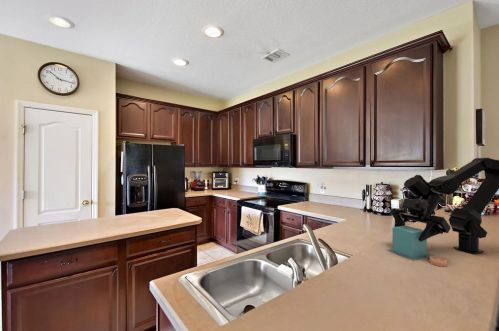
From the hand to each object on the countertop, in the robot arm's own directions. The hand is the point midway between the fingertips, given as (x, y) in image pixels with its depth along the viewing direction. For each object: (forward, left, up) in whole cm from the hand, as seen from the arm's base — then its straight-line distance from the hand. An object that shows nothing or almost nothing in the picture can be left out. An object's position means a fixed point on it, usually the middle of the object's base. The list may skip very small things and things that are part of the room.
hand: (406, 236), depth 83 cm
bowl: (-1, +9, -7) cm, 12 cm away
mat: (-2, 0, -7) cm, 7 cm away
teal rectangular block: (-1, 0, -6) cm, 6 cm away
